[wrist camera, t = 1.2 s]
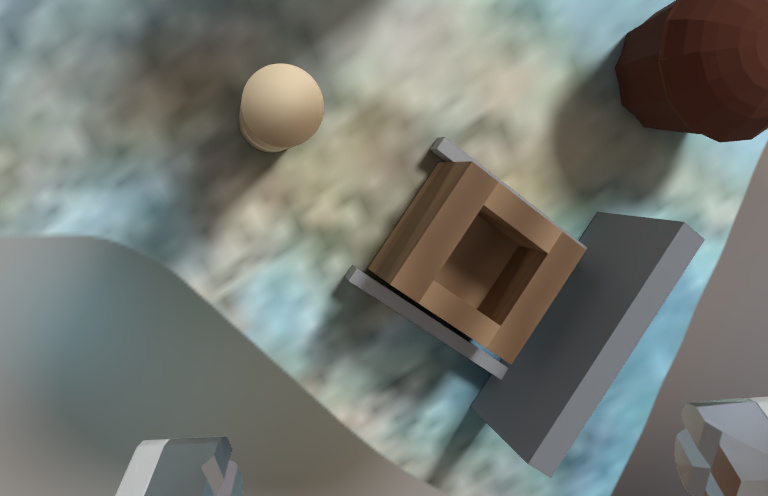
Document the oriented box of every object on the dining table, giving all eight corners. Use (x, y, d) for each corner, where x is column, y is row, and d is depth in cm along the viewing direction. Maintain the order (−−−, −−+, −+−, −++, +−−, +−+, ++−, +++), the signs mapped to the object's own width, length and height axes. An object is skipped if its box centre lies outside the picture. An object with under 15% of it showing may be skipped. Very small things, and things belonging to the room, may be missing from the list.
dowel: (229, 102, 37) (228, 78, 28) (288, 82, 38) (306, 52, 28) (252, 161, 38) (259, 158, 28) (309, 140, 39) (335, 131, 29)
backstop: (319, 313, 40) (343, 352, 32) (461, 102, 41) (522, 83, 32) (489, 418, 45) (550, 477, 36) (615, 226, 46) (704, 239, 37)
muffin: (744, 34, 46) (878, -1, 37) (696, 166, 47) (816, 165, 37) (627, -31, 43) (741, -88, 33) (576, 112, 44) (674, 95, 34)
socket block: (367, 268, 41) (390, 284, 35) (438, 162, 41) (472, 161, 35) (474, 339, 44) (511, 364, 38) (539, 239, 44) (586, 249, 38)
